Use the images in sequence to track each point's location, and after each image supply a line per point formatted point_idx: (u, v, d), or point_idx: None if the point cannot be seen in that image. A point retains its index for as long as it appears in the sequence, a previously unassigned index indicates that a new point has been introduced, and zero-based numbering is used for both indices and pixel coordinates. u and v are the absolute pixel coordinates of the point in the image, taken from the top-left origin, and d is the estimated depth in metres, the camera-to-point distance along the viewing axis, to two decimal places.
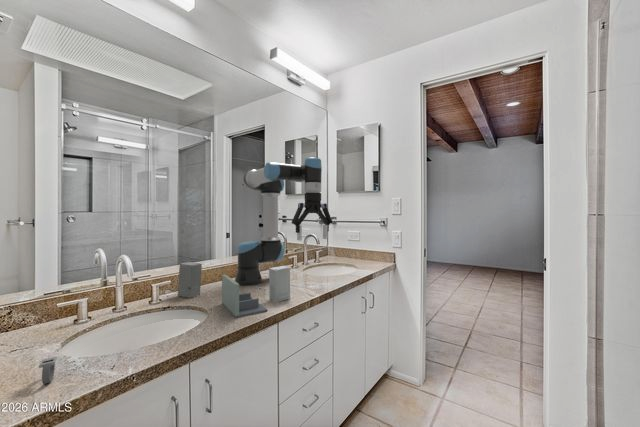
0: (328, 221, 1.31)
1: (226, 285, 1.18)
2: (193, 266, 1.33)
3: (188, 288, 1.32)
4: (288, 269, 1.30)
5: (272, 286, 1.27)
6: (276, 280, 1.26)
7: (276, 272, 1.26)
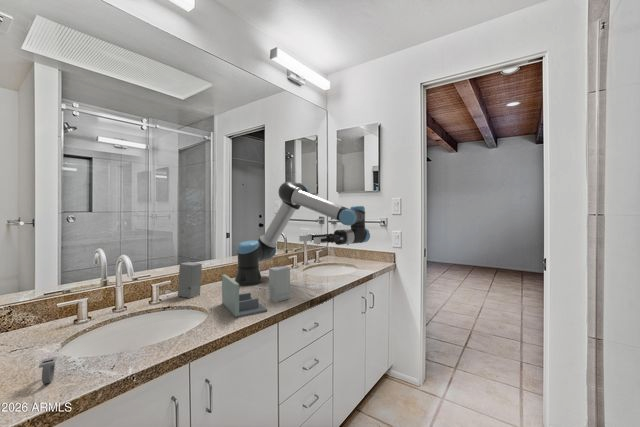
0: None
1: (226, 285, 1.18)
2: (193, 266, 1.33)
3: (188, 288, 1.32)
4: (288, 269, 1.30)
5: (272, 286, 1.27)
6: (276, 280, 1.26)
7: (276, 272, 1.26)
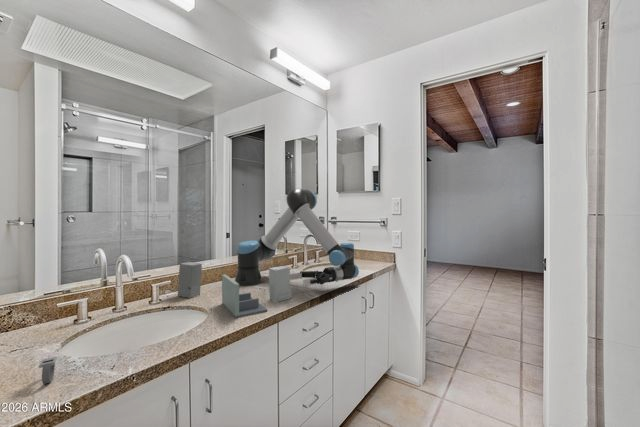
0: (302, 275, 1.46)
1: (226, 285, 1.18)
2: (193, 266, 1.33)
3: (188, 288, 1.32)
4: (288, 269, 1.30)
5: (272, 286, 1.27)
6: (276, 280, 1.26)
7: (276, 272, 1.26)
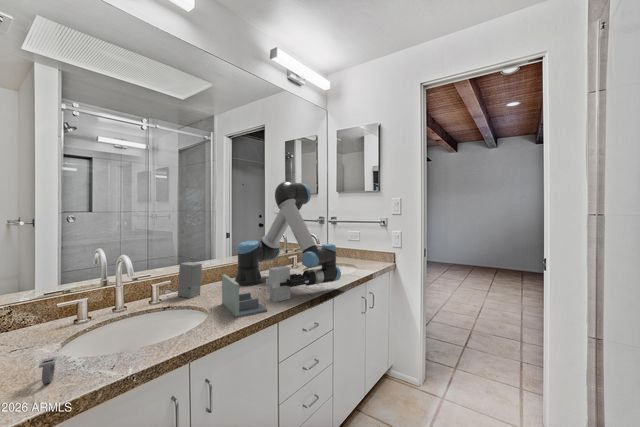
0: None
1: (226, 285, 1.18)
2: (193, 266, 1.33)
3: (188, 288, 1.32)
4: (288, 269, 1.30)
5: None
6: (276, 280, 1.26)
7: (276, 272, 1.26)
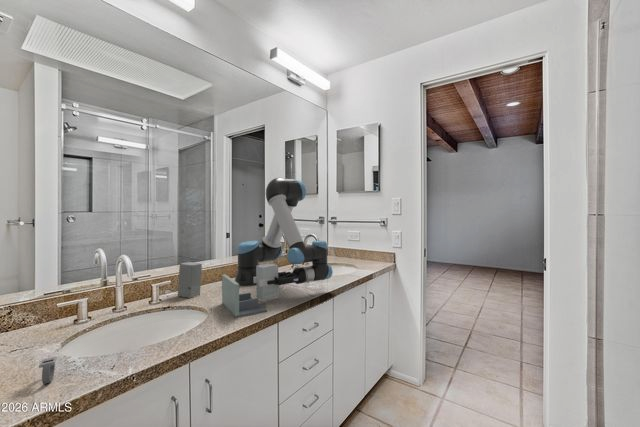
0: None
1: (226, 285, 1.18)
2: (193, 266, 1.33)
3: (188, 288, 1.32)
4: (276, 266, 1.24)
5: None
6: (264, 278, 1.21)
7: (263, 269, 1.20)
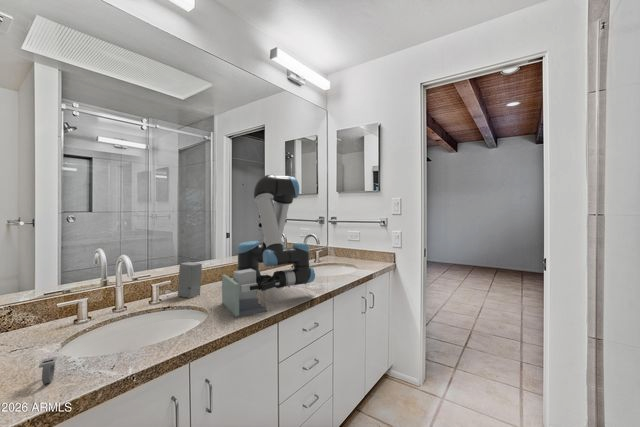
0: None
1: (226, 285, 1.18)
2: (193, 266, 1.33)
3: (188, 288, 1.32)
4: (254, 272, 1.19)
5: None
6: (240, 284, 1.15)
7: (239, 276, 1.15)
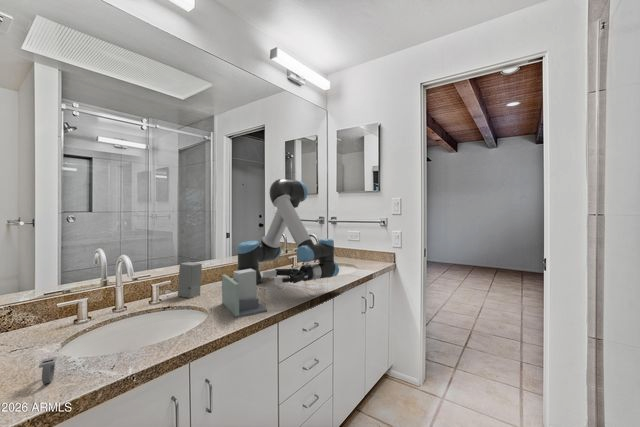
0: (277, 273, 1.36)
1: (226, 285, 1.18)
2: (193, 266, 1.33)
3: (188, 288, 1.32)
4: (254, 272, 1.19)
5: None
6: (240, 285, 1.15)
7: (239, 276, 1.15)
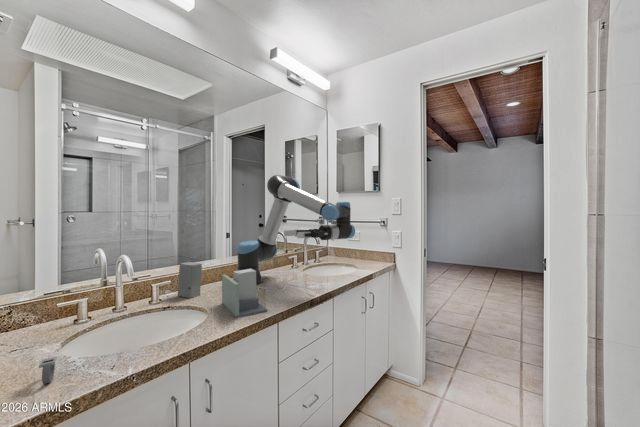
0: None
1: (226, 285, 1.18)
2: (193, 266, 1.33)
3: (188, 288, 1.32)
4: (254, 272, 1.19)
5: None
6: (240, 284, 1.15)
7: (239, 276, 1.15)
